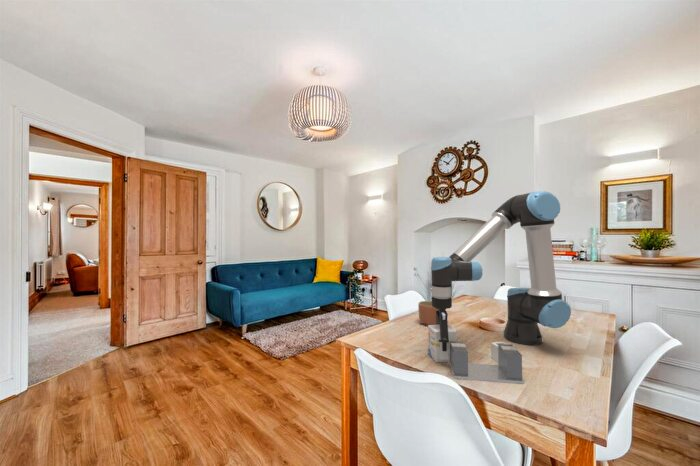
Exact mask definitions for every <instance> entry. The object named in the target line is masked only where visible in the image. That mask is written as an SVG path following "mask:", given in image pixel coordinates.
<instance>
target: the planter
mask: <svg viewBox="0 0 700 466" xmlns="http://www.w3.org/2000/svg"><path fill="white" fill-rule="evenodd" d="M417 308H418V318H419V321H420V323H422V324H423V325H425V326H428V325H436V311H437V308H434V307H433V306H432V300H423V301H422V300H421V301H419V302H418V307H417Z"/></svg>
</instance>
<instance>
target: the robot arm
mask: <svg viewBox="0 0 700 466" xmlns="http://www.w3.org/2000/svg"><path fill="white" fill-rule="evenodd" d="M560 212H561V203H560V201H559V199H558V198H557V196H556V195H555V194H553V193H551V192H549V191H547V190H544V191H543V190H540V191H536V190H535V191H533V192H527V193H522V194H517V195H514V196H512V197H510V198H508V199H507V200H506V201H505V202H503V203H502V204H501V205H499V207H497V209H496V210H495V211H494V212H492V214H491V217H490V218H489V219H488V220H487V221H486V222H485V223H484V224H483V225H482V226H480V228H478V229H477V231H475V232H474V234H472V235H471V236H470V237H469V238H468V239H467V240H466V241H465V242H464V243H463V244H461V245H460V246H459V247H458V248H457V249H456V250H455V251H454V252H453V253H452V254H451V255H450V256H435V257H433V258H432V259H431V265H430V272H431V273H430V274H431V276H430V277H431V287H430V288H429V290H430V291H431V301H432V306H433V307H434V308H437V311H436V325H440V338H441V340H439V342H440V359H444V360H448V343H449V338H448V325H449V324H448V323H449V321H448V317H449V315H448V312H447V309H451V308H452V307H453V304H452V303H453V302H452V301H453V299H452V296H453V285H452V284H453V282H474V281H475V282H476V281H479V280H481V279H482V277H483V266H482V265H481V263H479V262H478V261H473V260H474V259H475V258H476V257H477V256H478V255H479V254H480V253H482V251H483V250H484V249H486V248H487V247H488V246H489V245H490V244H491V243H492V242H493V241H494V240H495V239H496V238H497V237H498V236H499V235H501V233H503V231H505V230H509V229H511V227H512V226H514V225H516V224H518V223H520V227H521V229H523V230H524V231H525V240H526V250H527V258H528V269H529V270H528V271H529V278H530V279H529V280H530V287H511V288H509V289H508V290H507V296H506V297H507V300H506V301H507V321H506V324H505V326H504V330H503V338H504V339H506V340H507V341H510V342H512V343H515V344H521V345H527V346H536V345H541V344H543V335H542V333H541V332H542V331H541V330H540V327H539V325H542V327H543V326H544V327H547V328H551V329H559V328H562V327H564V326H565V325H566V324H567V323H568V322H569V320H570V319H571V315H572V308H571V306H570V304H569V303H567V301H566V300H563V295H562V293H563V292H562V291H561V290H560V289H558V287H557V282H556V272H555V262H554V254H553V253H554V251H553V241H552V231H551V228H553V226H554V225H555V219H556V218H557V217H558V216H559V214H560ZM443 338H446V339H443Z"/></svg>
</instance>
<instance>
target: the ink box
mask: <svg viewBox="0 0 700 466" xmlns="http://www.w3.org/2000/svg"><path fill="white" fill-rule="evenodd" d="M457 333H458V332H457V330H456V329H454V328H453V327H452V325H449V324H448V338H449V343H448V360H444V359H440V342H439V340H441V338H440V325H427V335H428V342H427V343H428V346H427V348H428V350H427V351H428V355H429V356H430V357H431V359H433V361H435V363H445V362H446V363H447V362H448V363H450V341H457V340H458V337H457V335H458V334H457ZM443 339H446V338H443Z"/></svg>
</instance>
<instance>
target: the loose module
mask: <svg viewBox="0 0 700 466" xmlns="http://www.w3.org/2000/svg"><path fill="white" fill-rule="evenodd" d="M498 344H507V343H505V342H504V341H495V342H490V358H491V359H492V360H493V361H495V362H496V363H498Z"/></svg>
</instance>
